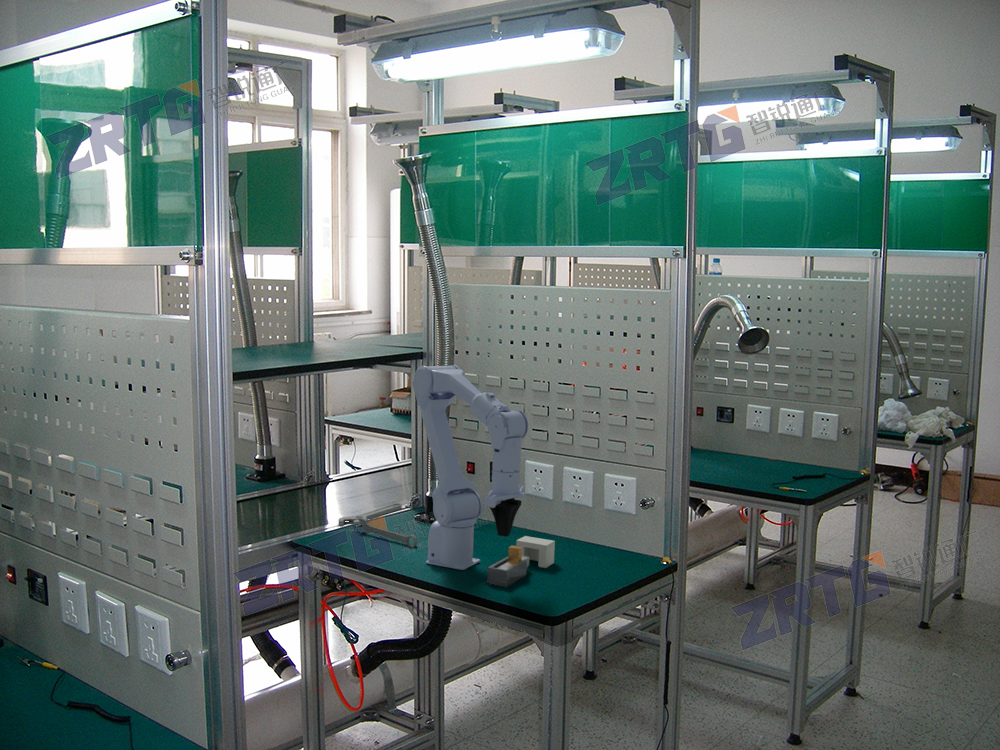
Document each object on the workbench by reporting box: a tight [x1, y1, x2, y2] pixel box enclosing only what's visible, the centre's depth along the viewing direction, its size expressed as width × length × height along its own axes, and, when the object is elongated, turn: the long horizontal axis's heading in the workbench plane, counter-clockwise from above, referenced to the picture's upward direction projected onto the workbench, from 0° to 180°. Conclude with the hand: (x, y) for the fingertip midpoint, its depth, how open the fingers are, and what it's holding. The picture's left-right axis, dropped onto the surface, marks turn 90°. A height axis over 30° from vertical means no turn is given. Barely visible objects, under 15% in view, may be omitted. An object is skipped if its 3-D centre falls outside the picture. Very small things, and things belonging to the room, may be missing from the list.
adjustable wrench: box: [338, 502, 403, 527], centre depth 239 cm, size 25×6×2 cm, turn 149°
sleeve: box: [486, 556, 528, 588], centre depth 191 cm, size 4×10×3 cm, turn 154°
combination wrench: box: [355, 518, 419, 548], centre depth 218 cm, size 4×1×20 cm
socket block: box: [515, 535, 556, 569], centre depth 203 cm, size 7×4×5 cm, turn 64°
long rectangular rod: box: [498, 545, 530, 570], centre depth 193 cm, size 2×12×5 cm, turn 153°
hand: (503, 535), depth 188 cm, fingers closed
